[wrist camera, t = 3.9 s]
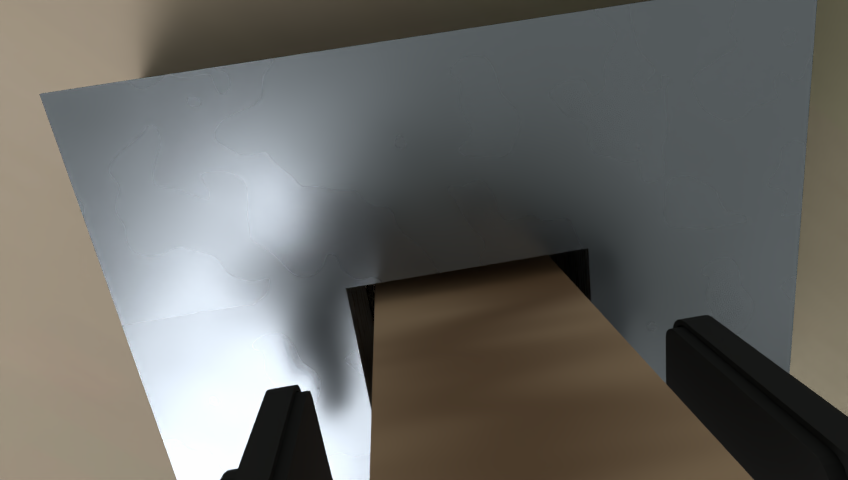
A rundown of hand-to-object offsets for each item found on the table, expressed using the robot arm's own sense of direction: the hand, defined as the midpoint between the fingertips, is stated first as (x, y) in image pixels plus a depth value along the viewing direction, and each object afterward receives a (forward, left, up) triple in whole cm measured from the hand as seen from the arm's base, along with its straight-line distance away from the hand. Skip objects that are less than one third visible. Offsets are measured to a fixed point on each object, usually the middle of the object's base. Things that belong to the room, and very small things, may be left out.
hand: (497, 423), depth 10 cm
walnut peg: (0, 0, -6) cm, 6 cm away
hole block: (0, 0, -6) cm, 6 cm away
